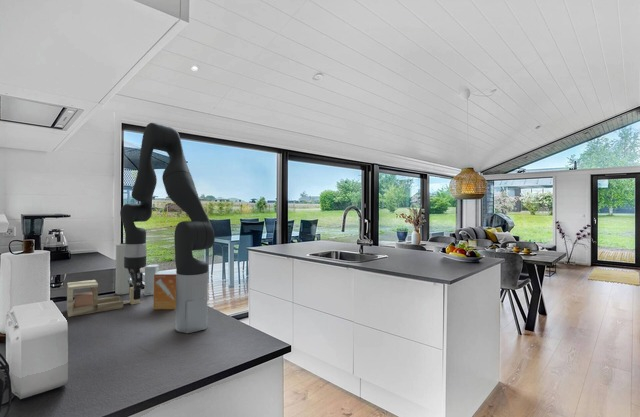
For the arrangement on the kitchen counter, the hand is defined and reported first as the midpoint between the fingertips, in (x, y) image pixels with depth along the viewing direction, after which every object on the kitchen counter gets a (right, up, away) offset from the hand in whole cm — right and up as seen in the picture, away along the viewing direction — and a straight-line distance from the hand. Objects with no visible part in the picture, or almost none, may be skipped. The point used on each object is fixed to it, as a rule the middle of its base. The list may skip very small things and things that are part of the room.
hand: (134, 296), depth 125 cm
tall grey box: (-12, -2, +13) cm, 18 cm away
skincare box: (-1, -3, +14) cm, 14 cm away
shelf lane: (-9, -2, -8) cm, 12 cm away
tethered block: (-6, -2, -6) cm, 9 cm away
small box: (+15, -3, -5) cm, 16 cm away
